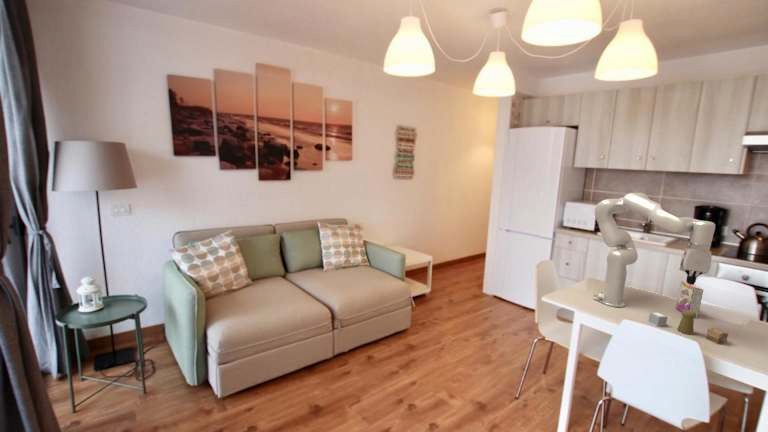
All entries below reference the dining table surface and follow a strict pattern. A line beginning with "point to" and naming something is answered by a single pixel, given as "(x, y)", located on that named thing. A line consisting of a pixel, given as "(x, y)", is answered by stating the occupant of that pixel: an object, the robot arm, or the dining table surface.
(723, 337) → the light brown cube
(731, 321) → the dining table surface
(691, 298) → the candy bar box
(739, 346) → the dining table surface
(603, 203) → the robot arm
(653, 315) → the slate grey block
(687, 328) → the cork
